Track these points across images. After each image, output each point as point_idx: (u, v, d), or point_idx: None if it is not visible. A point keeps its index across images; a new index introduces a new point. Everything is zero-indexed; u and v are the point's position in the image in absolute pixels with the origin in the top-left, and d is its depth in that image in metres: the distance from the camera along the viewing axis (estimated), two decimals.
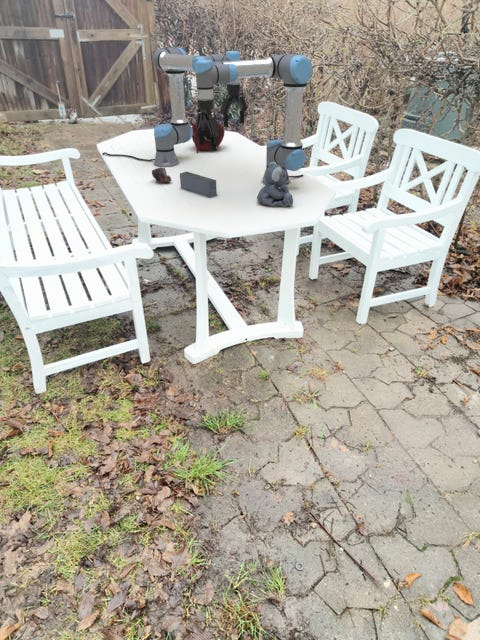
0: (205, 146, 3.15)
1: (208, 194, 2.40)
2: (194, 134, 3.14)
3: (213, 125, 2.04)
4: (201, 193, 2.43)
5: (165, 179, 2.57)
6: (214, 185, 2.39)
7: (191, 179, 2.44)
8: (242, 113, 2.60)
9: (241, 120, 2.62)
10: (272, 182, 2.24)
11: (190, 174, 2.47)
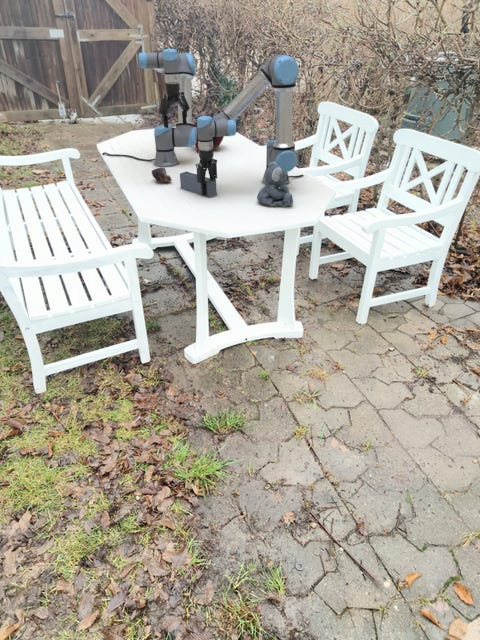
0: None
1: (208, 194, 2.40)
2: None
3: None
4: (201, 193, 2.43)
5: (165, 179, 2.57)
6: (214, 185, 2.39)
7: (191, 179, 2.44)
8: (184, 113, 2.51)
9: (184, 121, 2.54)
10: (272, 182, 2.24)
11: (190, 174, 2.47)
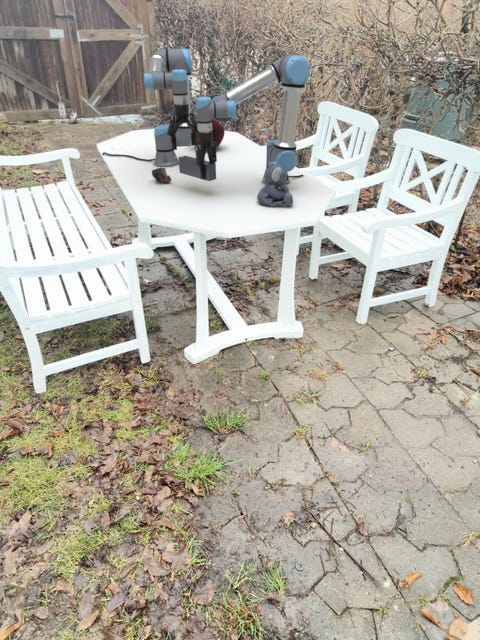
0: None
1: (207, 177, 2.35)
2: None
3: None
4: None
5: (165, 179, 2.57)
6: (213, 168, 2.34)
7: (190, 163, 2.39)
8: (193, 135, 2.43)
9: (192, 142, 2.45)
10: (272, 182, 2.24)
11: (189, 158, 2.42)
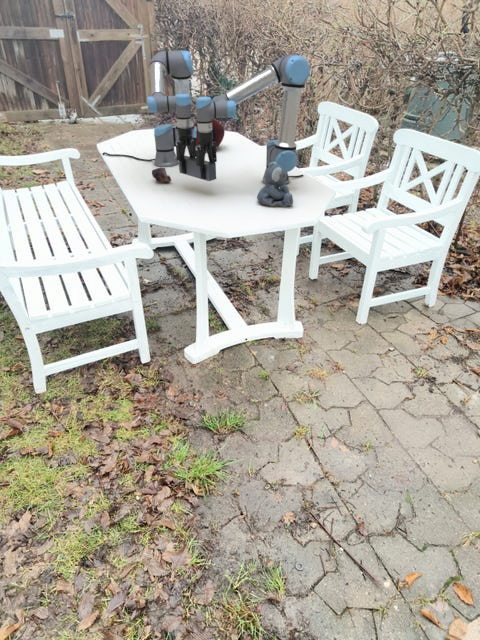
0: None
1: (207, 177, 2.35)
2: None
3: None
4: None
5: (165, 179, 2.57)
6: (213, 168, 2.34)
7: (190, 163, 2.39)
8: None
9: None
10: (272, 182, 2.24)
11: (189, 158, 2.42)
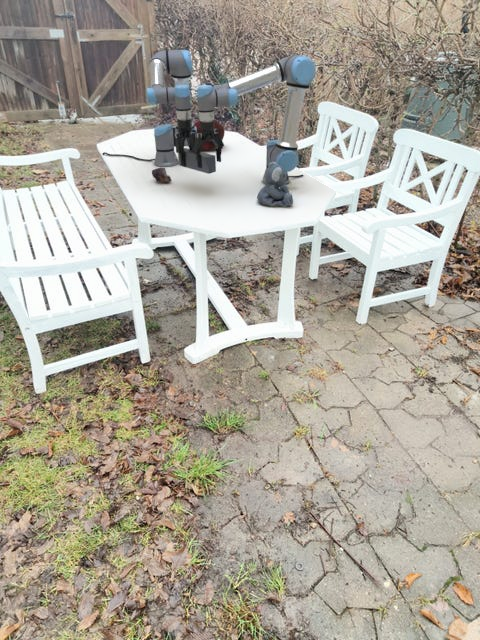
0: (205, 146, 3.15)
1: (207, 170, 2.33)
2: None
3: None
4: (200, 170, 2.36)
5: (165, 179, 2.57)
6: (213, 160, 2.32)
7: (190, 155, 2.37)
8: None
9: None
10: (272, 182, 2.24)
11: (189, 150, 2.40)
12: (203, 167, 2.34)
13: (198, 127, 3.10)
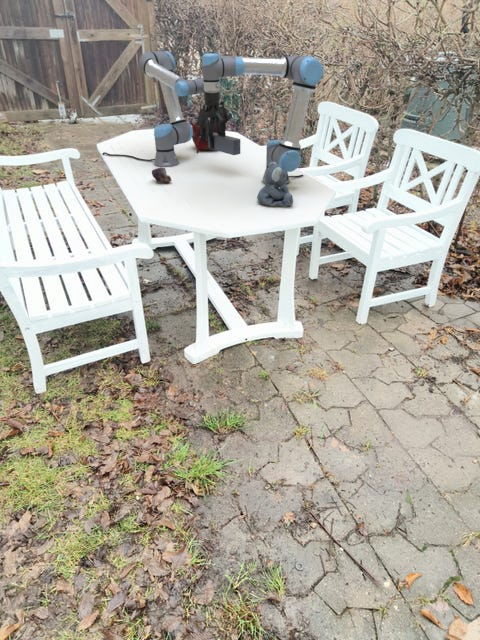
0: (205, 146, 3.15)
1: (232, 151, 2.62)
2: (194, 134, 3.14)
3: None
4: (226, 151, 2.66)
5: (165, 179, 2.57)
6: (238, 143, 2.61)
7: (218, 138, 2.67)
8: None
9: None
10: (272, 182, 2.24)
11: (217, 134, 2.70)
12: (229, 149, 2.63)
13: (198, 127, 3.10)
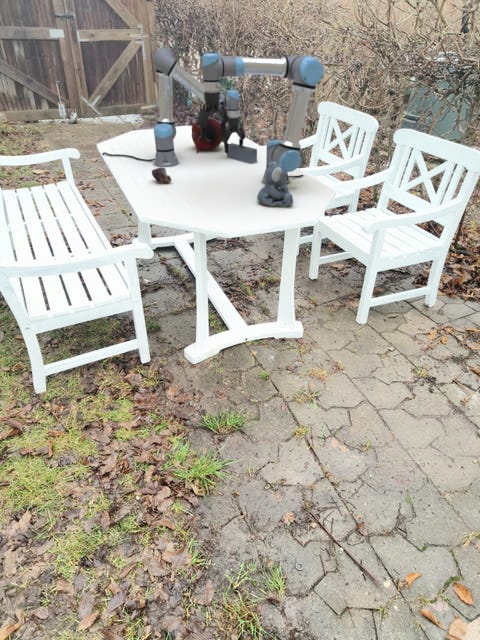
0: (205, 146, 3.15)
1: (249, 160, 2.93)
2: (194, 134, 3.14)
3: None
4: (244, 160, 2.96)
5: (165, 179, 2.57)
6: (255, 153, 2.92)
7: (236, 148, 2.97)
8: (241, 141, 3.04)
9: None
10: (272, 182, 2.24)
11: (235, 145, 3.00)
12: (247, 158, 2.94)
13: (198, 127, 3.10)
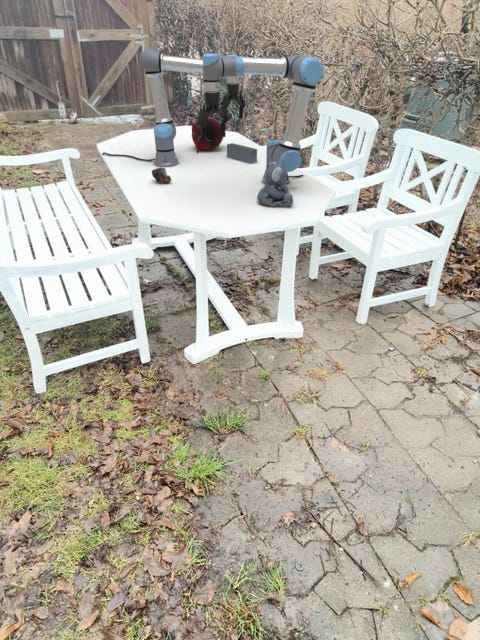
0: (205, 146, 3.15)
1: (249, 160, 2.93)
2: (194, 134, 3.14)
3: None
4: (244, 160, 2.96)
5: (165, 179, 2.57)
6: (255, 153, 2.92)
7: (236, 148, 2.97)
8: (241, 109, 2.93)
9: (240, 116, 2.95)
10: (272, 182, 2.24)
11: (235, 145, 3.00)
12: (247, 158, 2.94)
13: (198, 127, 3.10)
